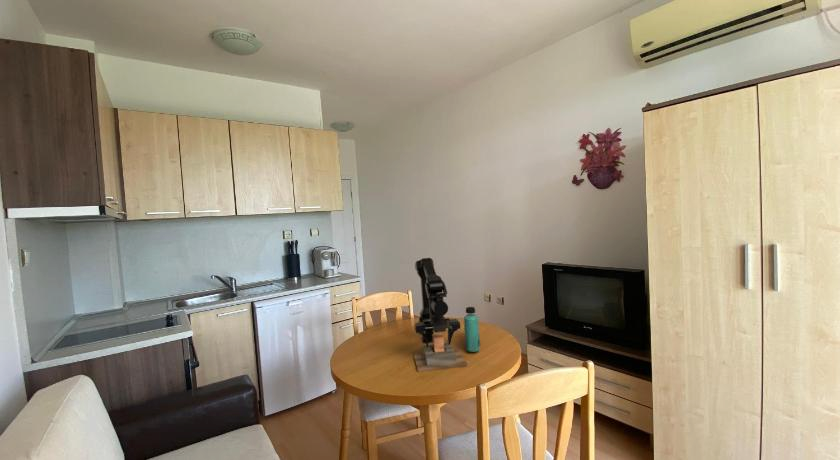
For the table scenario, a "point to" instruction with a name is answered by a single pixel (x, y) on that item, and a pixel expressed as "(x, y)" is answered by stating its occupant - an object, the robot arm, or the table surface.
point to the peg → (438, 342)
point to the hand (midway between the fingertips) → (438, 345)
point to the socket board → (445, 366)
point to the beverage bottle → (471, 330)
